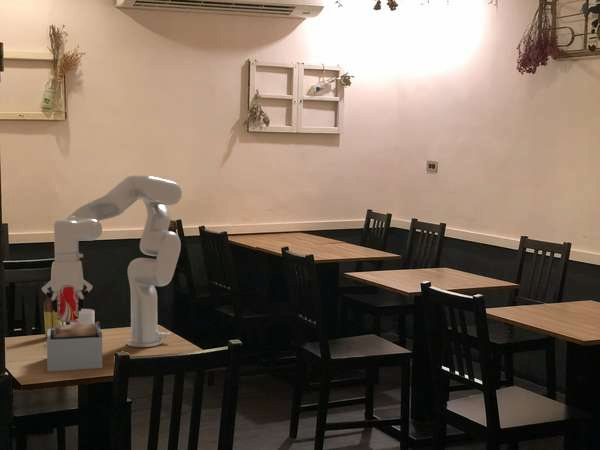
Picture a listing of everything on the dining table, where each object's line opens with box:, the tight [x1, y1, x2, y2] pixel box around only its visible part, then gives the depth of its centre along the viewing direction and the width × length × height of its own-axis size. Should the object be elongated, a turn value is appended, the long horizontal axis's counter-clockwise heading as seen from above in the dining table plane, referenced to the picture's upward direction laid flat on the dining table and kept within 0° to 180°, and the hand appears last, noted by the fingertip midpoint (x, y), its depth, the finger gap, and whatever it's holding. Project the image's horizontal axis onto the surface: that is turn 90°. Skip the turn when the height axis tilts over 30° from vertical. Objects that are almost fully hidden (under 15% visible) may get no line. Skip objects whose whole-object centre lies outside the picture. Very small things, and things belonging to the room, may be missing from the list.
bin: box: [46, 321, 104, 373], centre depth 263 cm, size 17×18×12 cm
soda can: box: [56, 286, 79, 323], centre depth 261 cm, size 7×7×12 cm
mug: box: [62, 308, 96, 325], centre depth 296 cm, size 12×9×11 cm
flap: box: [54, 323, 96, 337], centre depth 263 cm, size 13×15×1 cm
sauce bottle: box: [43, 286, 63, 338], centre depth 300 cm, size 6×6×20 cm
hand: (67, 310), depth 262 cm, fingers closed on soda can, 7 cm apart
